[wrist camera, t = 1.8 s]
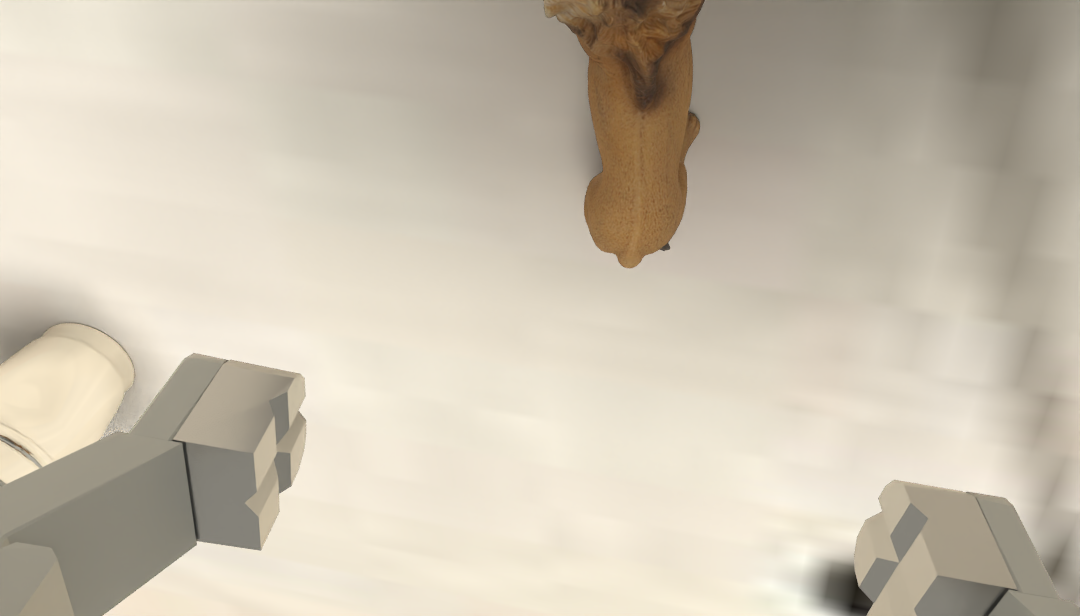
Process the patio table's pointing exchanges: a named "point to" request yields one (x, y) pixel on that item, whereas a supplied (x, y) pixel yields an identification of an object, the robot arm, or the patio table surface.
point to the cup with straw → (58, 396)
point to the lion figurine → (636, 117)
